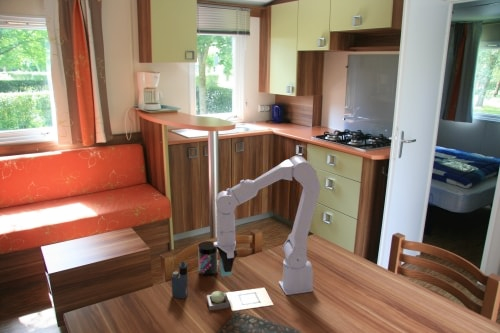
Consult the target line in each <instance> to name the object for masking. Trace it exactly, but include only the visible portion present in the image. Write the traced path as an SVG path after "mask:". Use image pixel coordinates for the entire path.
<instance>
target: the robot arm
mask: <svg viewBox="0 0 500 333" xmlns="http://www.w3.org/2000/svg"><path fill="white" fill-rule="evenodd" d="M317 172H318V171H317V170H316V169H315V168H314V167H313V165H312V164H311V163H310V162H308V160H306V159H305V157H304V156H302V155H294V156H292V157H290V158H289V159H285V160H283V161H282V162H281V163H279V164H278V165H276V166H274V167H273V168H271V169H270V170H269V171H266V172H265V173H263V174H261V175H260V176H258V177H257V178H255V179H245V180H244V179H242V180H240V181H239V183H238V184H236V185H234V186H232V187H231V188H229V187H228V188H226V190H222V191H220V192H219V193H217V195H216V197H215V203H216V209H217V210H216V240H217V241H213V242H214V246H215V247H217V252H218V255H219V257H221V259H222V262H223V268H224V271H225V272H231V270H232V269H233V266H234V262H235V259H236V257H237V256H238V252H237V250H235V248H236V246H237V241H236V216H235V210H236V208H237V206H241V205H242V204H244V203H245V202H247V201H249V200H251V199H253V198H255V197H256V196H257V195H258V192H259V190H262V189H263V188H265V187H268V186H270V185H273V184H274V183H276V182H278V181H280V180H287V181H293V178H294V179H295V180H296V181H297V182H298V183H300V185H301V187H302V192H301V195H300V200H299V203H298V207H297V211H296V215H295V219H294V221H293V226H292V230H291V233H289V234H288V235H287V239H286V240H285V242H284V243H283V245H282V252H283V253H284V255H285V257H284V258H283V262H282V263H283V264H282V280H279V281H278V285H279V286H280V287H281V289H282V290H283V293H285V294H284V295H287V296H290V295H296V294H304V293H311V292H314V289H313V284H314V283H313V281H314V269H313V265H312V263H311V261H310V260H308V256H307V251H308V236H309V232H310V228H311V224H312V220H313V217H314V215H315V214H314V213H315V210H316V206H317V203H318V200H319V195H320V191H321V189H322V188H321V186H322V185H321V184H320V180H319V177H318V174H317ZM232 271H233V270H232Z"/></svg>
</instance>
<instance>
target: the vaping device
mask: <svg viewBox="0 0 500 333" xmlns="http://www.w3.org/2000/svg"><path fill="white" fill-rule="evenodd" d="M178 269H179V270H176V271H173V272H172V275H171V277H170V278H171V295H172V297H173V298H176V299H177V298H178V299H186V298H187V297H188V296H189V295H188V293H189V292H188V280H189V278H188V264H187V263H185V261H181V263H180V264H179V267H178Z"/></svg>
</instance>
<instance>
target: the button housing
mask: <svg viewBox="0 0 500 333" xmlns="http://www.w3.org/2000/svg"><path fill="white" fill-rule="evenodd" d="M223 293H224V302H221V303H214V304H213V303H212V300H211V294H207V295H206V301H207V305H208V308H209V311H215V310H223V309H228V308H229V309H230V303H229V301H228V298H227V295H226V293H227V292H223Z"/></svg>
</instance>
